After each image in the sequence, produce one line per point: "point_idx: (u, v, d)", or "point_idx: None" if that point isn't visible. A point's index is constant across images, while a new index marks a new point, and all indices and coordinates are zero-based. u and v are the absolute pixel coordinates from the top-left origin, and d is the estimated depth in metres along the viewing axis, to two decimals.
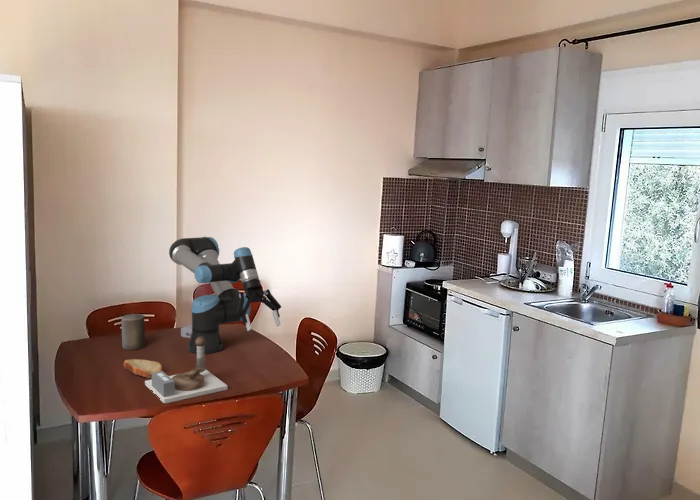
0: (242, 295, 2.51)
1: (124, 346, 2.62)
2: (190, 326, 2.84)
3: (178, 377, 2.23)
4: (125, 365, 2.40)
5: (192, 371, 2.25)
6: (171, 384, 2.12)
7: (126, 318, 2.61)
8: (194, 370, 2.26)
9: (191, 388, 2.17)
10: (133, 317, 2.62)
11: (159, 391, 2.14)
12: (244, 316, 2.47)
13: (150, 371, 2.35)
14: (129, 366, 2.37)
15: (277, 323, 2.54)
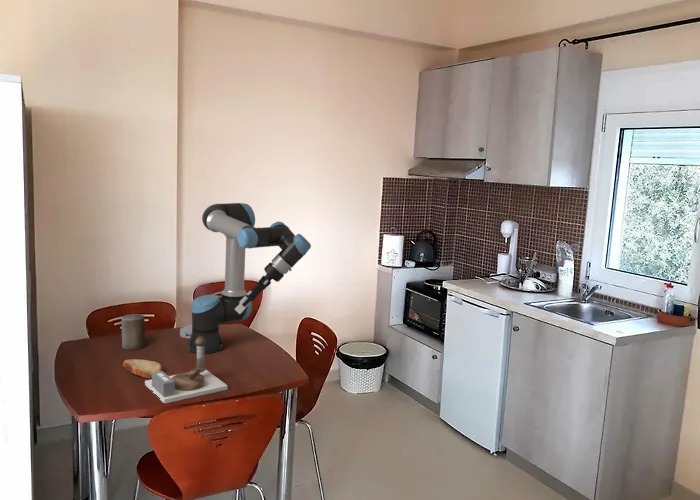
0: (267, 285, 2.24)
1: (124, 346, 2.62)
2: (189, 326, 2.83)
3: (178, 377, 2.23)
4: (125, 365, 2.40)
5: (192, 371, 2.25)
6: (171, 384, 2.12)
7: (126, 318, 2.61)
8: (194, 370, 2.26)
9: (191, 388, 2.17)
10: (133, 317, 2.62)
11: (159, 391, 2.14)
12: (249, 302, 2.22)
13: (149, 371, 2.34)
14: (128, 366, 2.37)
15: None
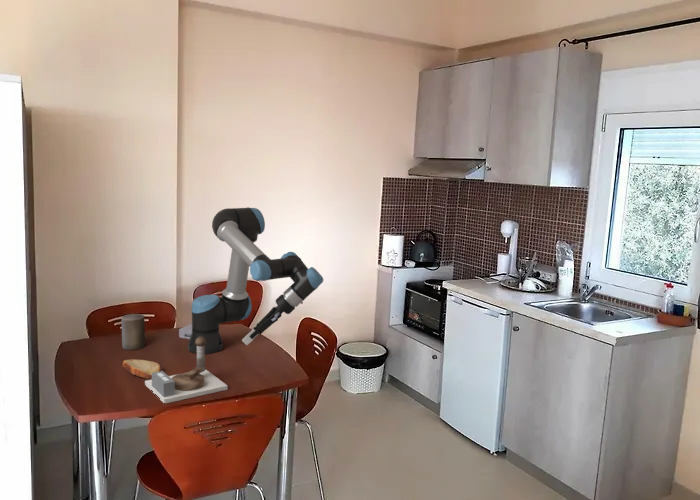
0: None
1: (124, 346, 2.62)
2: (188, 327, 2.82)
3: (178, 377, 2.23)
4: (124, 365, 2.40)
5: (192, 371, 2.25)
6: (171, 384, 2.12)
7: (126, 318, 2.61)
8: (194, 370, 2.26)
9: (191, 388, 2.17)
10: (133, 317, 2.62)
11: (159, 391, 2.14)
12: (256, 334, 2.29)
13: (148, 371, 2.34)
14: (128, 366, 2.37)
15: None
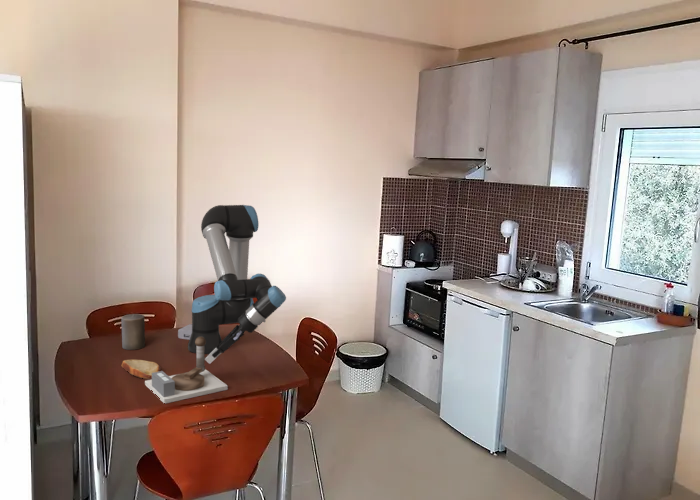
0: None
1: (124, 346, 2.62)
2: (187, 327, 2.81)
3: (178, 377, 2.23)
4: (123, 365, 2.40)
5: (192, 371, 2.25)
6: (171, 384, 2.12)
7: (126, 318, 2.61)
8: (194, 370, 2.26)
9: (192, 388, 2.18)
10: (133, 317, 2.62)
11: (159, 391, 2.14)
12: (219, 353, 2.29)
13: (147, 372, 2.34)
14: (127, 366, 2.37)
15: None
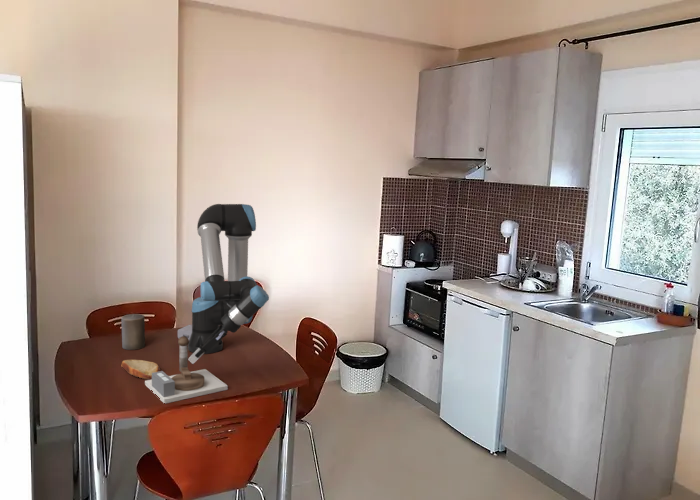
0: (220, 340, 2.24)
1: (124, 346, 2.62)
2: (187, 328, 2.81)
3: (177, 380, 2.20)
4: (123, 365, 2.40)
5: (185, 371, 2.25)
6: (171, 384, 2.12)
7: (126, 318, 2.61)
8: (185, 370, 2.26)
9: (201, 385, 2.21)
10: (133, 317, 2.62)
11: (159, 391, 2.14)
12: (202, 353, 2.28)
13: (146, 372, 2.34)
14: (126, 366, 2.37)
15: None
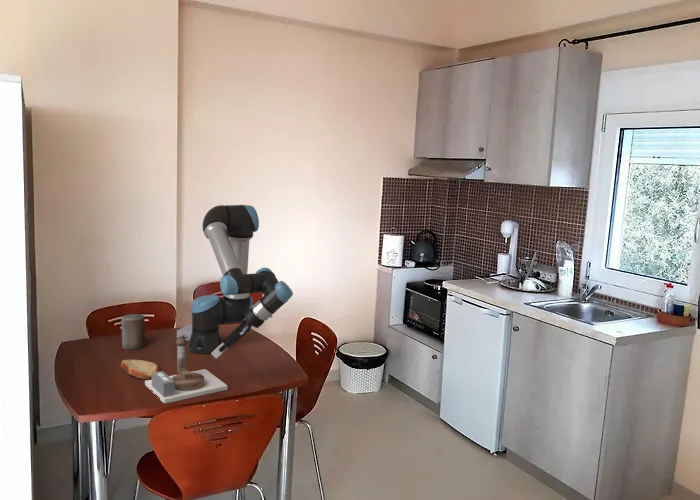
0: (243, 335, 2.25)
1: (124, 346, 2.62)
2: (186, 328, 2.80)
3: (178, 380, 2.20)
4: (122, 365, 2.40)
5: (184, 371, 2.25)
6: (171, 384, 2.12)
7: (126, 318, 2.61)
8: (184, 370, 2.26)
9: (202, 385, 2.21)
10: (133, 317, 2.62)
11: (159, 391, 2.14)
12: (225, 347, 2.29)
13: (145, 372, 2.33)
14: (125, 366, 2.37)
15: None
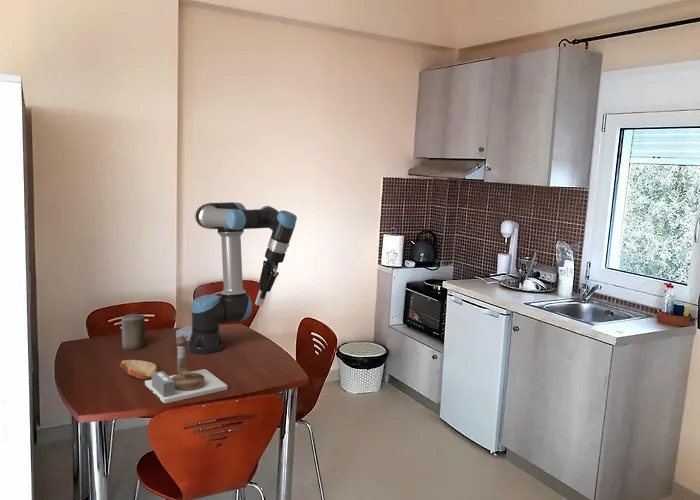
0: None
1: (124, 346, 2.62)
2: (185, 328, 2.80)
3: (178, 380, 2.20)
4: (121, 365, 2.40)
5: (184, 371, 2.25)
6: (171, 384, 2.12)
7: (126, 318, 2.61)
8: (184, 370, 2.26)
9: (202, 385, 2.21)
10: (133, 317, 2.62)
11: (159, 391, 2.14)
12: None
13: (144, 372, 2.33)
14: (125, 367, 2.37)
15: None
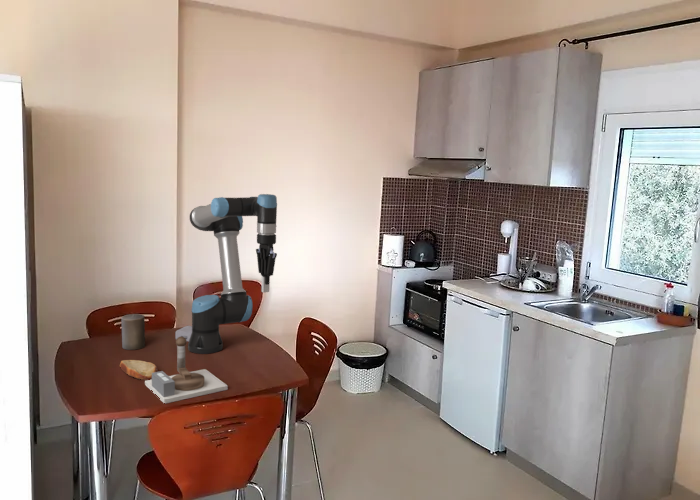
0: None
1: (124, 346, 2.62)
2: (185, 329, 2.79)
3: (178, 380, 2.20)
4: (121, 365, 2.39)
5: (184, 371, 2.25)
6: (171, 384, 2.12)
7: (126, 318, 2.61)
8: (184, 370, 2.26)
9: (202, 385, 2.21)
10: (133, 317, 2.62)
11: (159, 391, 2.14)
12: None
13: (144, 372, 2.33)
14: (124, 367, 2.36)
15: None
